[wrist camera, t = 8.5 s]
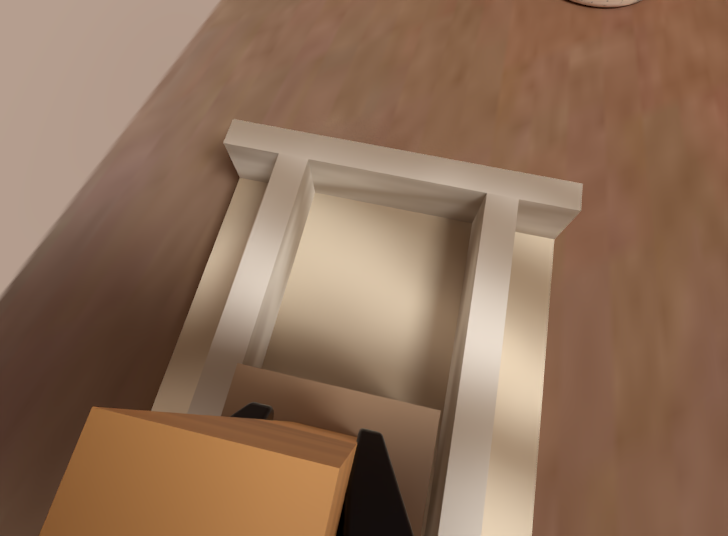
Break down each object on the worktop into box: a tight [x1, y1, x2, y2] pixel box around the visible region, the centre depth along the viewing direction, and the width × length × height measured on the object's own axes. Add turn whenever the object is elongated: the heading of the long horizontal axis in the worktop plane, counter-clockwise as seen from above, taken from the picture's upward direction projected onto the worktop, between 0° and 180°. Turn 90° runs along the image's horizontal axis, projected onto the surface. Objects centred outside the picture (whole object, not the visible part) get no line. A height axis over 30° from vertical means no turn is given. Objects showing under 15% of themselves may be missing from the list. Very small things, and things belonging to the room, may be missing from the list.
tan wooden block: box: [39, 363, 441, 536], centre depth 8 cm, size 5×5×13 cm
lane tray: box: [151, 119, 582, 536], centre depth 16 cm, size 20×14×4 cm
